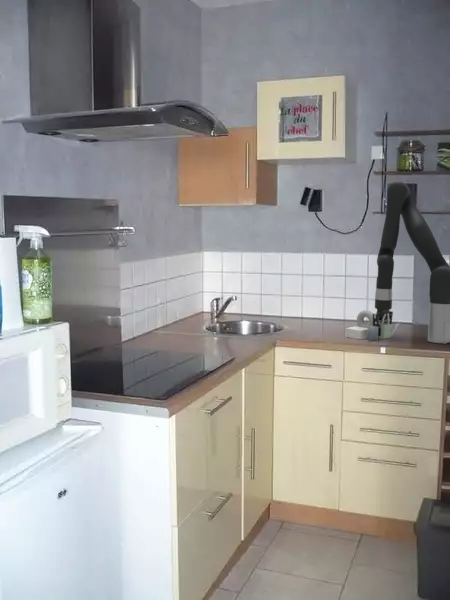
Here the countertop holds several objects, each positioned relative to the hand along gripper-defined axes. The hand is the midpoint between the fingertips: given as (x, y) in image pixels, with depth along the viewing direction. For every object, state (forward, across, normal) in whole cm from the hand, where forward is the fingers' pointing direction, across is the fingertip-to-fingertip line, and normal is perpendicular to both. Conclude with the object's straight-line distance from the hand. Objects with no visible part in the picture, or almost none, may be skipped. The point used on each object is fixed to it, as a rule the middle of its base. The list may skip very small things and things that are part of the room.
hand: (381, 334), depth 297 cm
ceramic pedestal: (+1, -9, +7) cm, 11 cm away
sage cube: (+1, 0, 0) cm, 1 cm away
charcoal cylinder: (+1, -10, -1) cm, 10 cm away
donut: (+1, +9, +14) cm, 17 cm away
